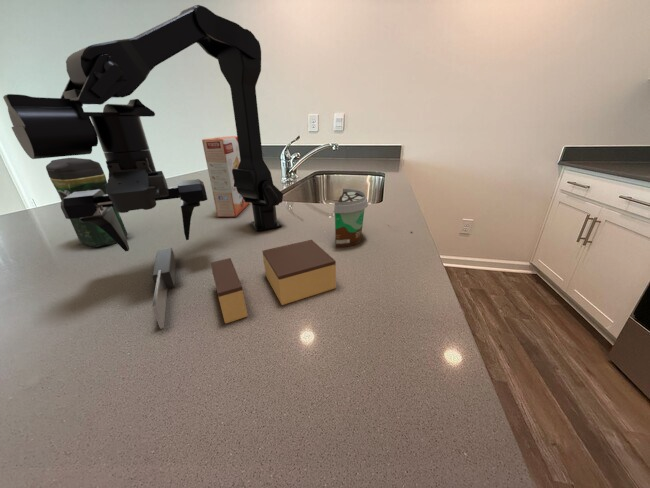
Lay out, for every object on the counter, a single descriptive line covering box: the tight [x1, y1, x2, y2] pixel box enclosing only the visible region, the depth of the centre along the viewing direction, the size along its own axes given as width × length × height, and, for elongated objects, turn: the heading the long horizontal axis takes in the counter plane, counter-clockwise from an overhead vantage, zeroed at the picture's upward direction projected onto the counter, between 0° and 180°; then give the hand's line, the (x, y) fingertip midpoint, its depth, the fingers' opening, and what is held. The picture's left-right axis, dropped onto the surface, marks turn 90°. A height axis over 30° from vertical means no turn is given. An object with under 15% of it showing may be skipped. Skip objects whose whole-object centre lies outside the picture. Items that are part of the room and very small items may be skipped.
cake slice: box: [210, 257, 249, 324], centre depth 37 cm, size 9×3×5 cm, turn 27°
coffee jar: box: [45, 157, 128, 248], centre depth 57 cm, size 10×8×19 cm
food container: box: [333, 188, 369, 248], centre depth 56 cm, size 12×6×10 cm, turn 168°
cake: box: [261, 239, 337, 306], centre depth 42 cm, size 9×9×5 cm
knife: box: [151, 247, 177, 330], centre depth 41 cm, size 20×2×4 cm, turn 27°
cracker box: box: [201, 135, 250, 218], centre depth 75 cm, size 14×6×21 cm, turn 179°
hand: (158, 244), depth 45 cm, fingers open, 9 cm apart
